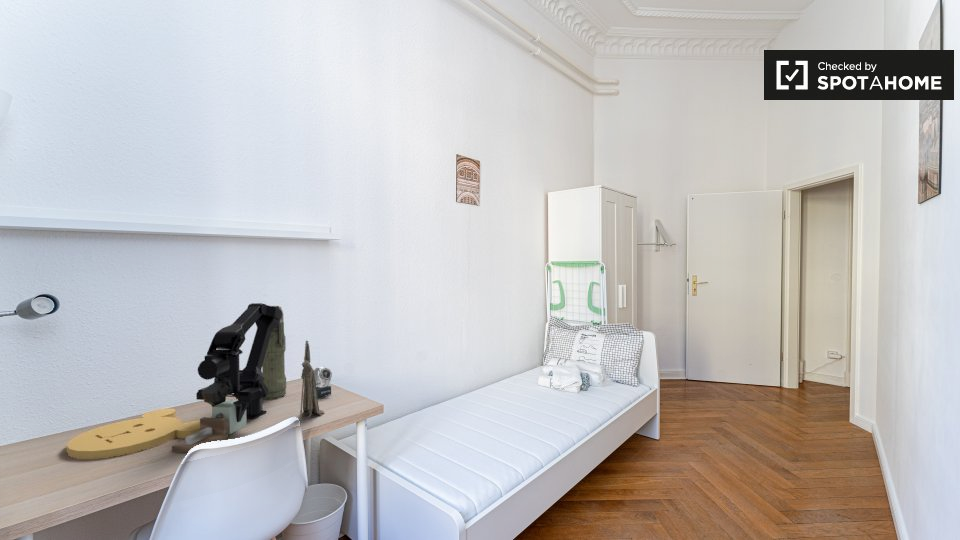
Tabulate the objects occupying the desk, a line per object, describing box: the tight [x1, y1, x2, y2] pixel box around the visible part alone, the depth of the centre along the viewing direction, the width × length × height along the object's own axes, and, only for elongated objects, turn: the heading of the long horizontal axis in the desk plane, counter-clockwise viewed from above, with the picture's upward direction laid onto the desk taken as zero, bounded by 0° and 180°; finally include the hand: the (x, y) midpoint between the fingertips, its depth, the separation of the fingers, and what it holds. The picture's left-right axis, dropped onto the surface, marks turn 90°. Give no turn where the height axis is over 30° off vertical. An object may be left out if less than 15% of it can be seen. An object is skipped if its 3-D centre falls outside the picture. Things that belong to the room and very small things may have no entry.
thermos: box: [261, 305, 287, 400], centre depth 167 cm, size 9×12×35 cm
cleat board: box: [171, 416, 229, 453], centre depth 122 cm, size 11×8×6 cm
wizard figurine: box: [299, 340, 325, 419], centre depth 146 cm, size 10×8×25 cm
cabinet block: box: [211, 399, 247, 435], centre depth 132 cm, size 8×6×8 cm
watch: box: [313, 366, 333, 399], centre depth 167 cm, size 6×8×11 cm
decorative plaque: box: [66, 408, 200, 460], centre depth 127 cm, size 31×3×30 cm
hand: (229, 421), depth 132 cm, fingers closed on cabinet block, 6 cm apart
